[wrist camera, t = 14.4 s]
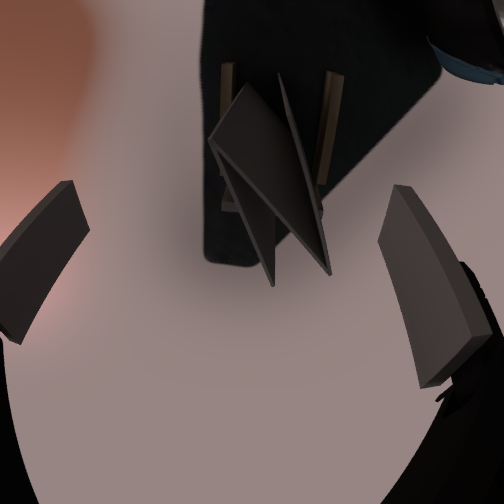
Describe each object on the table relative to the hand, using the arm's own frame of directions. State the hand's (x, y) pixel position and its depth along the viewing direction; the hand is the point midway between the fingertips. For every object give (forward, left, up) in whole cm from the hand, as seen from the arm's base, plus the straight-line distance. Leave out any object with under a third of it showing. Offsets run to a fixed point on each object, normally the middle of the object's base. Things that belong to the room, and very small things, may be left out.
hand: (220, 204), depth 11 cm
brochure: (-3, +6, -39) cm, 39 cm away
